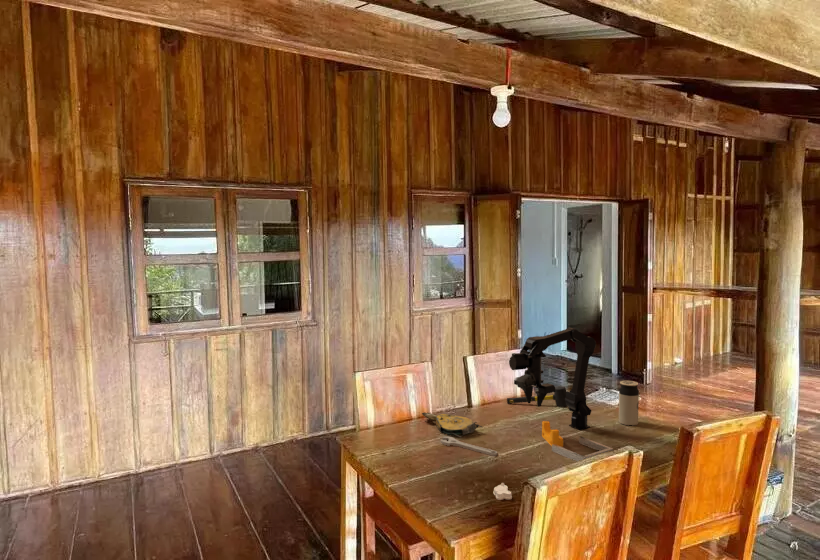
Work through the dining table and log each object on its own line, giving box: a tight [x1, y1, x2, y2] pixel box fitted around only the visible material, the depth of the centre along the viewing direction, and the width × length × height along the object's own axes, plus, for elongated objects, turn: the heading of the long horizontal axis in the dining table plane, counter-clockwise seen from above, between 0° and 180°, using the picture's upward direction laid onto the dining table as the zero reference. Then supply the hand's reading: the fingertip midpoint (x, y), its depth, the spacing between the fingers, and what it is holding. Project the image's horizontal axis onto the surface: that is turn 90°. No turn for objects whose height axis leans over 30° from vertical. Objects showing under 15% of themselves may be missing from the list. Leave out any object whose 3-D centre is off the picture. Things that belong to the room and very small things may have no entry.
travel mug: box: [618, 380, 640, 426], centre depth 238 cm, size 8×8×18 cm
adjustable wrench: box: [440, 436, 498, 457], centre depth 210 cm, size 25×6×2 cm, turn 47°
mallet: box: [506, 385, 568, 408], centre depth 266 cm, size 29×6×10 cm, turn 80°
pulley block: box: [421, 412, 483, 438], centre depth 234 cm, size 14×6×30 cm
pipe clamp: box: [541, 420, 564, 448], centre depth 217 cm, size 12×4×6 cm, turn 5°
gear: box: [493, 482, 513, 501], centre depth 172 cm, size 9×9×2 cm
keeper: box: [551, 436, 614, 462], centre depth 205 cm, size 16×15×2 cm
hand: (534, 405), depth 226 cm, fingers open, 5 cm apart
